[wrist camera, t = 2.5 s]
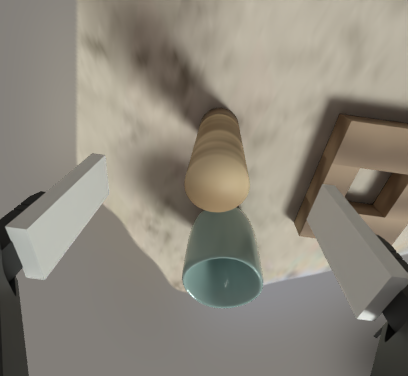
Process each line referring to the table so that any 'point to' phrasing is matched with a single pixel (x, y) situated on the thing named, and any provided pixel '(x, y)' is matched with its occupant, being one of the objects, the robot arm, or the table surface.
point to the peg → (217, 164)
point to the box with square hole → (368, 159)
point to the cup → (222, 260)
